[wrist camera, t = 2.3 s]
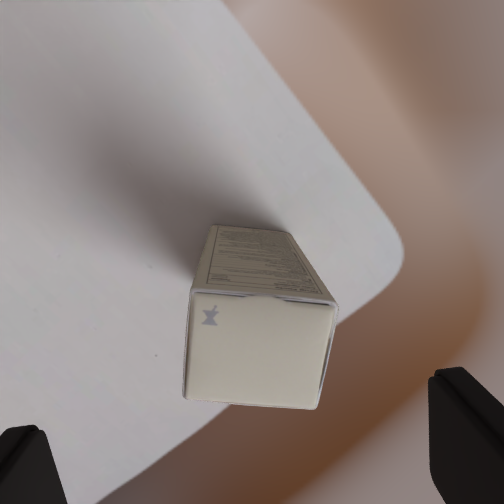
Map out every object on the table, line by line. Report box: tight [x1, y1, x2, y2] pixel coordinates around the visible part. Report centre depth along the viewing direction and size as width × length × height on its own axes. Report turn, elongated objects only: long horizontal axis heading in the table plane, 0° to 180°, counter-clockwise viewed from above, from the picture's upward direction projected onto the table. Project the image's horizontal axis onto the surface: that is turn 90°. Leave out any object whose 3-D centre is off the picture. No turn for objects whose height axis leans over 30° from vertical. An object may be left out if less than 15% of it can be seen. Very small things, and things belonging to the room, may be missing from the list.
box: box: [182, 225, 339, 410], centre depth 18 cm, size 5×4×11 cm
